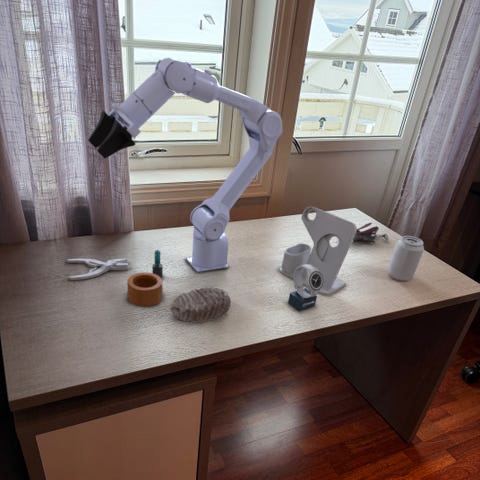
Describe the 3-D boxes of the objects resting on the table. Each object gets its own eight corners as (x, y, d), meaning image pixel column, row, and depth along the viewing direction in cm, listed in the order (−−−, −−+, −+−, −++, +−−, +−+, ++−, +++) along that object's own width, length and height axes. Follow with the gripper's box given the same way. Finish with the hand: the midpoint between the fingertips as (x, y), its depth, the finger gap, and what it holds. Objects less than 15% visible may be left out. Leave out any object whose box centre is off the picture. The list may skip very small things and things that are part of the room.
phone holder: (276, 270, 127) (287, 210, 117) (297, 260, 134) (309, 203, 124) (326, 296, 119) (343, 234, 108) (346, 284, 125) (363, 224, 115)
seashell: (217, 285, 112) (224, 266, 103) (233, 317, 110) (242, 301, 100) (163, 304, 107) (166, 287, 98) (179, 338, 105) (183, 324, 95)
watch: (304, 315, 110) (313, 277, 104) (283, 299, 115) (290, 262, 108) (320, 310, 113) (330, 272, 106) (299, 294, 118) (307, 257, 111)
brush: (160, 274, 119) (160, 247, 114) (163, 279, 117) (164, 251, 112) (151, 275, 117) (150, 248, 113) (154, 280, 116) (154, 253, 111)
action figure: (372, 235, 158) (333, 239, 149) (377, 219, 155) (337, 221, 146) (388, 243, 152) (348, 248, 144) (393, 227, 149) (353, 230, 141)
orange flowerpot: (155, 286, 114) (155, 270, 111) (167, 302, 108) (167, 286, 105) (123, 291, 110) (123, 275, 107) (134, 309, 104) (133, 292, 102)
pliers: (66, 256, 118) (124, 252, 123) (67, 261, 119) (124, 257, 124) (68, 274, 110) (130, 270, 115) (69, 280, 111) (130, 275, 116)
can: (413, 274, 135) (427, 238, 128) (410, 285, 129) (424, 248, 122) (388, 267, 137) (401, 231, 130) (384, 277, 131) (397, 240, 124)
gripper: (119, 82, 96) (74, 125, 97) (140, 95, 86) (90, 144, 87) (140, 108, 101) (97, 150, 102) (163, 125, 92) (115, 170, 92)
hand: (96, 149), depth 95 cm, fingers open, 7 cm apart
